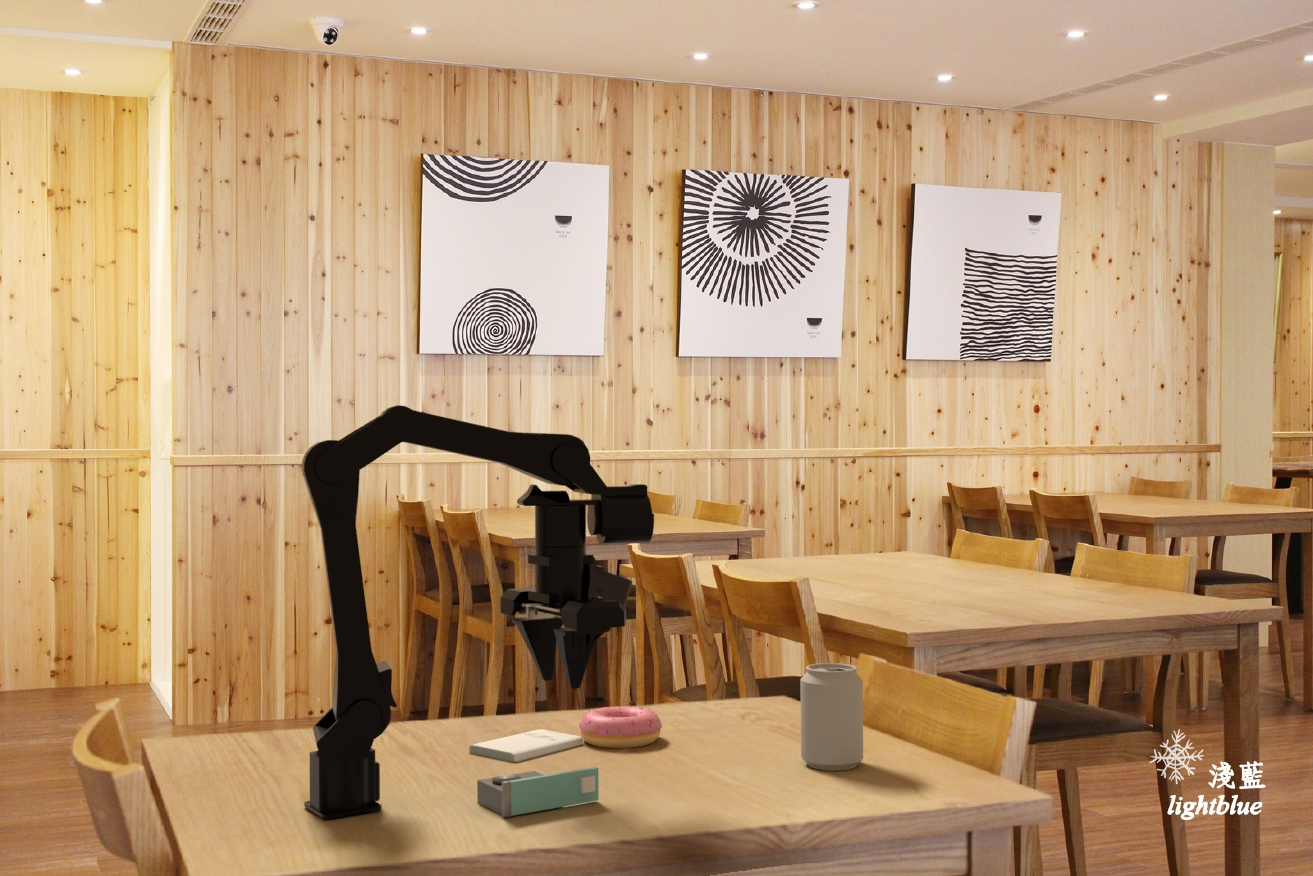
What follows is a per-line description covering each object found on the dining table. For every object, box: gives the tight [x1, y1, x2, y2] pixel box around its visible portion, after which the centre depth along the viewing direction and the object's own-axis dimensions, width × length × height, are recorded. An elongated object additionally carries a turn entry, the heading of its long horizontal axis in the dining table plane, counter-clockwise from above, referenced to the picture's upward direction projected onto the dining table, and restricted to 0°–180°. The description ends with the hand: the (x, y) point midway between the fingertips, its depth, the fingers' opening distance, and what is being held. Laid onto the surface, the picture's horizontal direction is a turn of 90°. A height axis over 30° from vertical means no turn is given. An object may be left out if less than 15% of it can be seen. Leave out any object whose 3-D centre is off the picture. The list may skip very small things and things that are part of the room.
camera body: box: [476, 770, 544, 816], centre depth 145 cm, size 7×6×3 cm
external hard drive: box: [468, 728, 584, 763], centre depth 171 cm, size 2×8×12 cm
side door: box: [501, 766, 600, 818], centre depth 142 cm, size 12×1×4 cm, turn 124°
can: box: [799, 662, 864, 772], centre depth 162 cm, size 8×8×12 cm
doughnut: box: [578, 705, 663, 749], centre depth 176 cm, size 11×11×4 cm
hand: (561, 684), depth 150 cm, fingers open, 6 cm apart
